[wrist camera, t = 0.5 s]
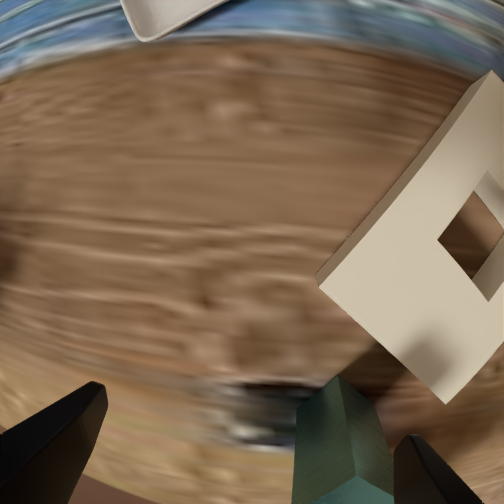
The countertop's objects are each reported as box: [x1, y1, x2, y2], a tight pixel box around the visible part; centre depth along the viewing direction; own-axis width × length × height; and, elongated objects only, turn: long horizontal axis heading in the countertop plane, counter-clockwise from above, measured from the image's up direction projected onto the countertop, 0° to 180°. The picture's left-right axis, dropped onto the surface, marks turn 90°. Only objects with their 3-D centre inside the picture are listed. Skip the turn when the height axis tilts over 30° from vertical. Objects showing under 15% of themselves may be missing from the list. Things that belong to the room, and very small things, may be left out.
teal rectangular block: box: [291, 375, 394, 504], centre depth 16 cm, size 4×4×10 cm
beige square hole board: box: [315, 70, 504, 404], centre depth 17 cm, size 12×18×4 cm, turn 139°
